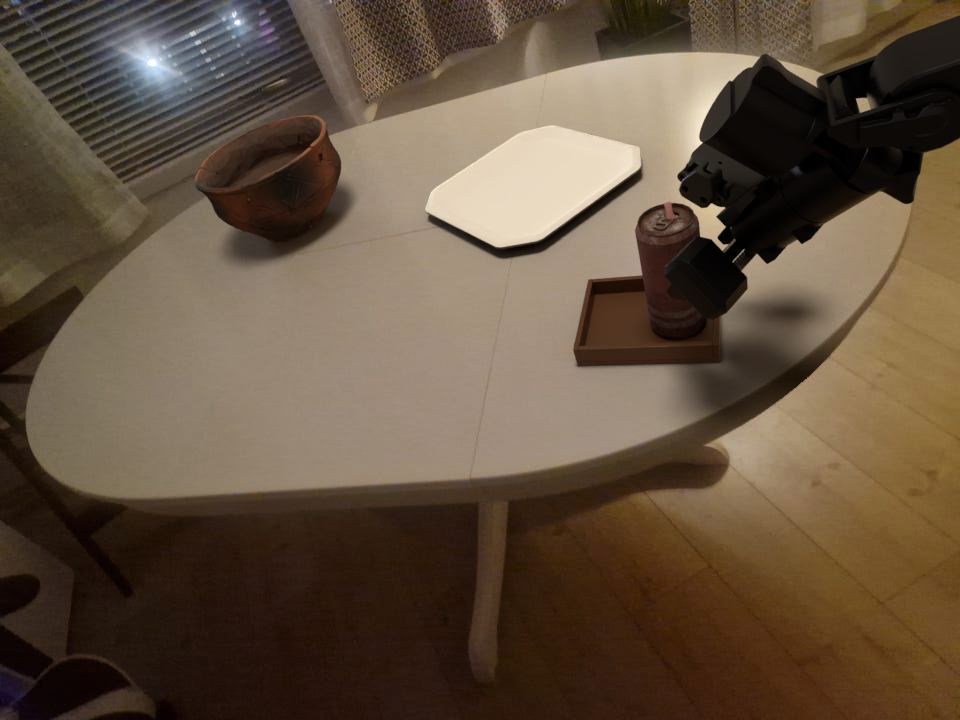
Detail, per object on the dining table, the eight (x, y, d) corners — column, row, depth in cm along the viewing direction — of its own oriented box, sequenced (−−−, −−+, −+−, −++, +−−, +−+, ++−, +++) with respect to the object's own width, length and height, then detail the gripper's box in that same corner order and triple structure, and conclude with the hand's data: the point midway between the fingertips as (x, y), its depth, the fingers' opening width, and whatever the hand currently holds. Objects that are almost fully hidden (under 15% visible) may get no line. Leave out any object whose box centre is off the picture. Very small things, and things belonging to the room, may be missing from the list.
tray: (720, 286, 76) (719, 269, 74) (720, 362, 68) (718, 344, 66) (591, 295, 81) (588, 279, 80) (577, 365, 73) (572, 349, 72)
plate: (415, 213, 110) (410, 202, 109) (540, 130, 118) (537, 119, 116) (520, 268, 90) (516, 256, 88) (663, 164, 98) (661, 150, 96)
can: (702, 298, 74) (692, 193, 65) (711, 336, 70) (702, 228, 60) (648, 307, 76) (631, 206, 67) (653, 345, 71) (636, 241, 62)
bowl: (370, 225, 112) (331, 145, 102) (239, 281, 112) (187, 207, 102) (352, 170, 131) (318, 98, 121) (240, 218, 131) (196, 151, 121)
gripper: (798, 59, 54) (692, 159, 69) (671, 179, 47) (583, 262, 62) (890, 155, 54) (764, 236, 69) (776, 289, 47) (664, 347, 62)
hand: (696, 266), depth 65 cm, fingers open, 9 cm apart
